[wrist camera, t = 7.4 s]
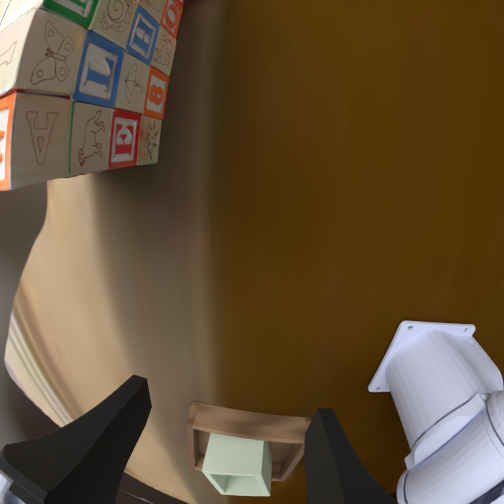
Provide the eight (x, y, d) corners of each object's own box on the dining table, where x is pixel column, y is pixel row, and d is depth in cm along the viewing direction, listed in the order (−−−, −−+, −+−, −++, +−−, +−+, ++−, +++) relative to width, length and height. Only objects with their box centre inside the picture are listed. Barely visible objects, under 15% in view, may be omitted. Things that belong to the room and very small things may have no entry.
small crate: (264, 425, 23) (261, 473, 18) (272, 455, 26) (270, 495, 20) (212, 424, 24) (201, 470, 18) (228, 455, 26) (221, 494, 21)
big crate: (311, 417, 23) (312, 440, 20) (284, 463, 27) (284, 481, 24) (193, 401, 24) (185, 423, 21) (194, 450, 28) (189, 468, 25)
